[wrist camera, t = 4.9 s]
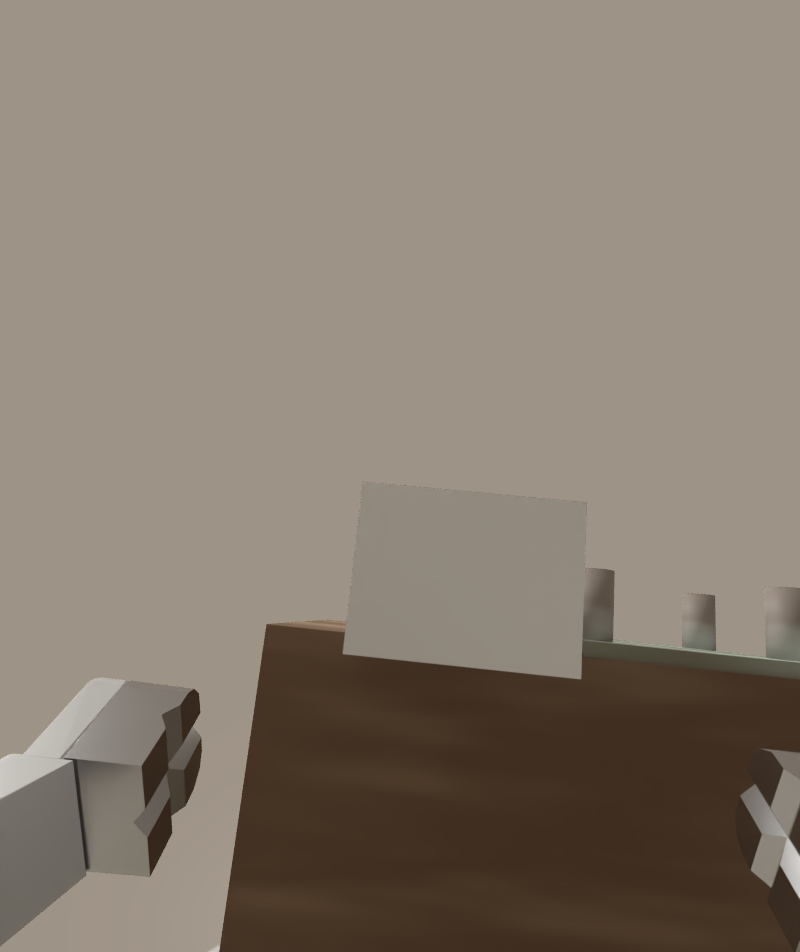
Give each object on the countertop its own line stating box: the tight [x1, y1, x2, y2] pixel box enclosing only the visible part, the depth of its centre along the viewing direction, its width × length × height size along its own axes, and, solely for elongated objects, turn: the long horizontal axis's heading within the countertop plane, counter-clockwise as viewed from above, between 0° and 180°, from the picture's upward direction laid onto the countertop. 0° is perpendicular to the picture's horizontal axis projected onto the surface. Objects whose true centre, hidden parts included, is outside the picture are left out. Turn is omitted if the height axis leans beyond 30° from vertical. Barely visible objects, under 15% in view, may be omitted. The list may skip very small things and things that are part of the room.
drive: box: [343, 482, 587, 679], centre depth 21 cm, size 22×4×3 cm, turn 178°
